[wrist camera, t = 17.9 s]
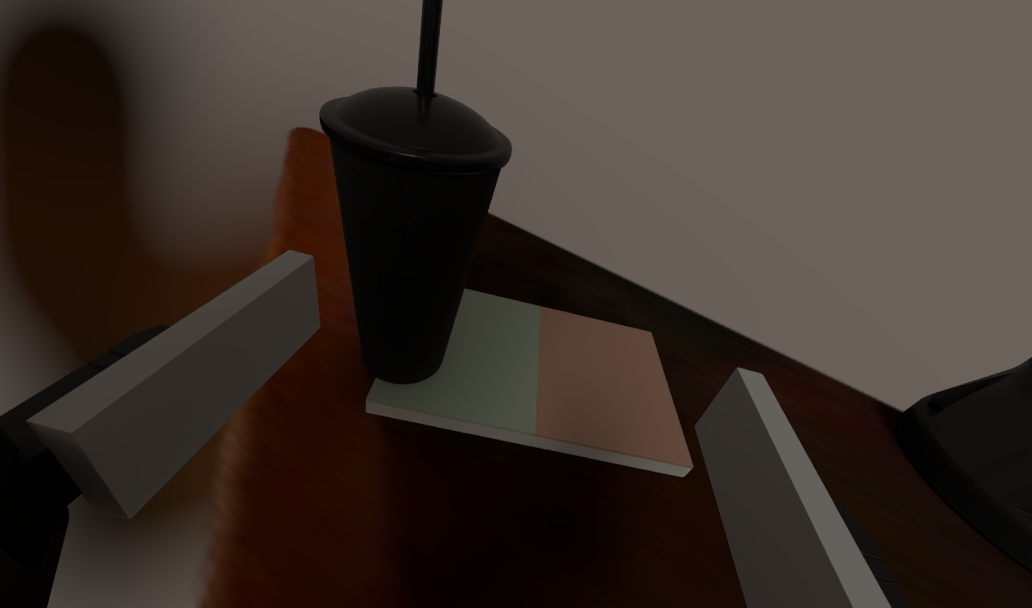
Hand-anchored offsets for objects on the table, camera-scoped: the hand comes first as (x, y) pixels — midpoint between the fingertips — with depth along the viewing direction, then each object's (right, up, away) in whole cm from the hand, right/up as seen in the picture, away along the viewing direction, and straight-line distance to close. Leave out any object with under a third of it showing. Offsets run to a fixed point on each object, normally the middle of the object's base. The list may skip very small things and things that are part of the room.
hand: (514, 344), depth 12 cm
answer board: (+1, -3, +15) cm, 16 cm away
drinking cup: (-7, -2, +12) cm, 14 cm away
